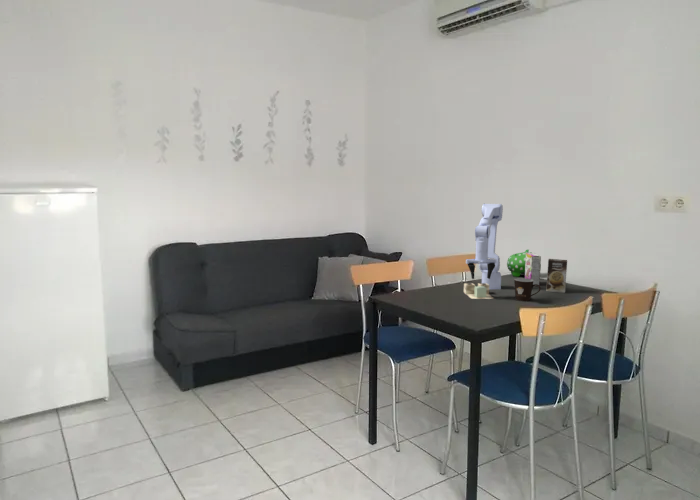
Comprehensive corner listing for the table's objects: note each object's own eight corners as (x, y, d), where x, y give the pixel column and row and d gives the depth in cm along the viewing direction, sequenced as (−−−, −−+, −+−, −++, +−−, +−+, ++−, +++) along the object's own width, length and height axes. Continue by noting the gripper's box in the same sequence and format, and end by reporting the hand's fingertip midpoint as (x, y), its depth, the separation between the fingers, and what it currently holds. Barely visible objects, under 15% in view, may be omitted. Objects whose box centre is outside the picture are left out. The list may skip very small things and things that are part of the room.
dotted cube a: (486, 292, 263) (486, 282, 262) (489, 294, 259) (489, 284, 258) (477, 292, 263) (477, 282, 262) (480, 294, 258) (480, 284, 258)
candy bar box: (523, 281, 291) (525, 252, 289) (532, 282, 291) (534, 252, 289) (530, 286, 280) (532, 255, 278) (539, 286, 280) (541, 255, 278)
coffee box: (546, 291, 268) (547, 260, 265) (546, 288, 274) (548, 258, 271) (565, 293, 264) (567, 261, 262) (565, 290, 270) (567, 259, 268)
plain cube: (483, 295, 256) (483, 286, 255) (486, 297, 251) (486, 288, 251) (474, 295, 256) (474, 286, 255) (476, 297, 251) (477, 288, 251)
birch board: (485, 292, 264) (485, 291, 264) (494, 299, 249) (494, 298, 249) (463, 292, 264) (463, 291, 264) (471, 299, 249) (471, 298, 249)
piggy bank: (540, 278, 300) (542, 252, 298) (507, 277, 303) (509, 252, 301) (536, 274, 314) (538, 249, 312) (505, 273, 317) (506, 248, 315)
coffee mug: (509, 299, 250) (510, 278, 249) (523, 297, 253) (524, 277, 252) (526, 305, 239) (527, 283, 238) (541, 303, 243) (542, 282, 241)
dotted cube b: (472, 292, 263) (472, 282, 262) (474, 294, 258) (475, 284, 258) (463, 292, 263) (463, 282, 262) (465, 294, 258) (466, 284, 257)
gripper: (468, 251, 246) (467, 280, 248) (499, 251, 247) (498, 280, 249) (465, 249, 253) (464, 277, 255) (495, 249, 254) (493, 277, 256)
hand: (480, 278), depth 252 cm, fingers open, 7 cm apart
